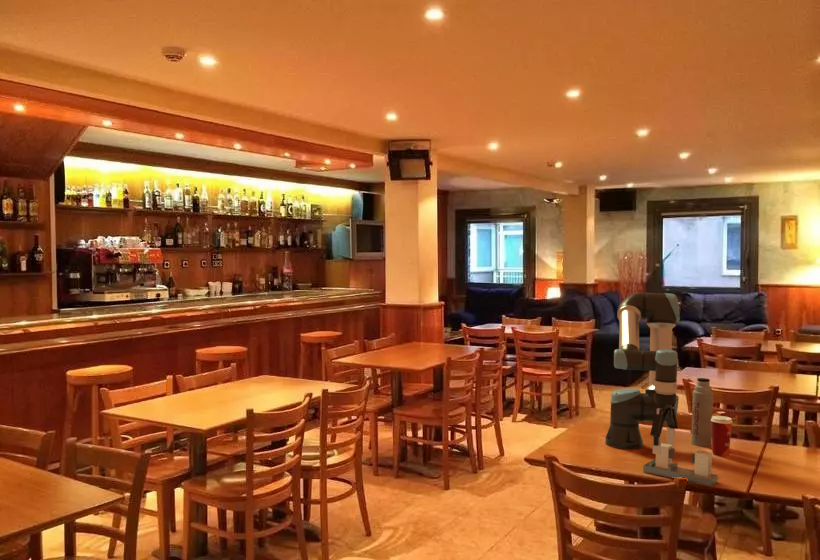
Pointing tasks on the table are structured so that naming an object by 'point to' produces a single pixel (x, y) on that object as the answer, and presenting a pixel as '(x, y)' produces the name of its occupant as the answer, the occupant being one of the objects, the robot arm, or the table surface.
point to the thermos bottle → (702, 413)
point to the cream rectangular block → (665, 456)
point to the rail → (688, 470)
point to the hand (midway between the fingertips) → (663, 449)
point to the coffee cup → (721, 435)
